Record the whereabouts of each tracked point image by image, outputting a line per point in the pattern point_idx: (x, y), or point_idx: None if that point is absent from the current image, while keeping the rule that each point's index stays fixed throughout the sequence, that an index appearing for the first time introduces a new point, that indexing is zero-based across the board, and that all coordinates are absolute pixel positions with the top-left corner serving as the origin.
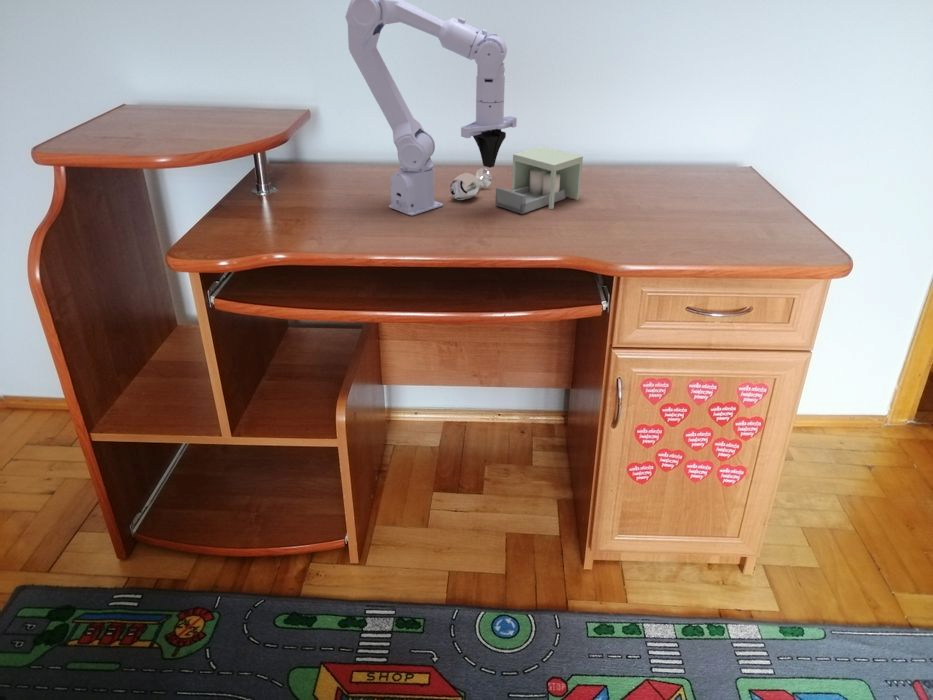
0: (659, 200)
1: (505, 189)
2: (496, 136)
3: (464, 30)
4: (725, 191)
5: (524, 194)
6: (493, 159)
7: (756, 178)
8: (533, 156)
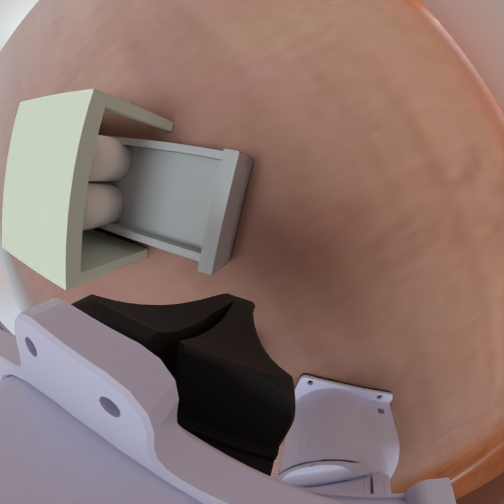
0: (69, 34)
1: (208, 238)
2: (194, 358)
3: None
4: (35, 24)
5: (138, 220)
6: (228, 305)
7: (6, 42)
8: (50, 214)
